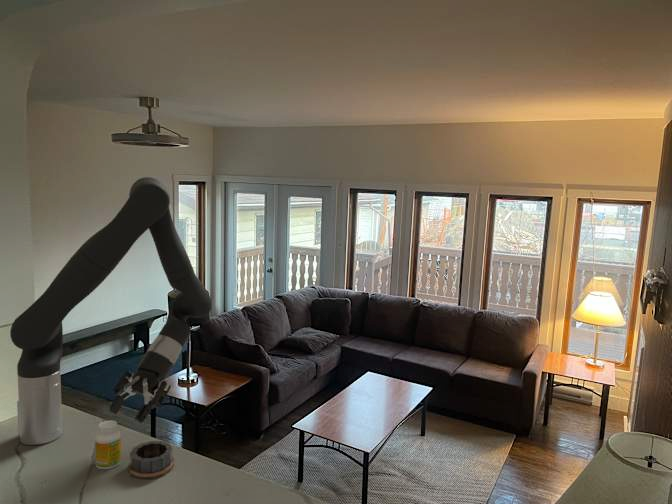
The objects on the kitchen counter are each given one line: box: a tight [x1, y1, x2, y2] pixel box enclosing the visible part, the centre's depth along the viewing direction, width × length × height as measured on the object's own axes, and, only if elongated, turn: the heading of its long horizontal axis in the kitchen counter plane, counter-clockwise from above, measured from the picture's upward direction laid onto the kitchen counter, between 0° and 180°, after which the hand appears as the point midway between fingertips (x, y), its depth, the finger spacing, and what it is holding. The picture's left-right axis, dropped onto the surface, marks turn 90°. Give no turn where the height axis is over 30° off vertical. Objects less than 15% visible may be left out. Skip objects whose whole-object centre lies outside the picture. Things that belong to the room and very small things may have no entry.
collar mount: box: [127, 440, 175, 480], centre depth 117 cm, size 10×10×4 cm
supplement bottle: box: [94, 420, 122, 470], centre depth 117 cm, size 5×5×10 cm
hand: (125, 417), depth 121 cm, fingers open, 8 cm apart
